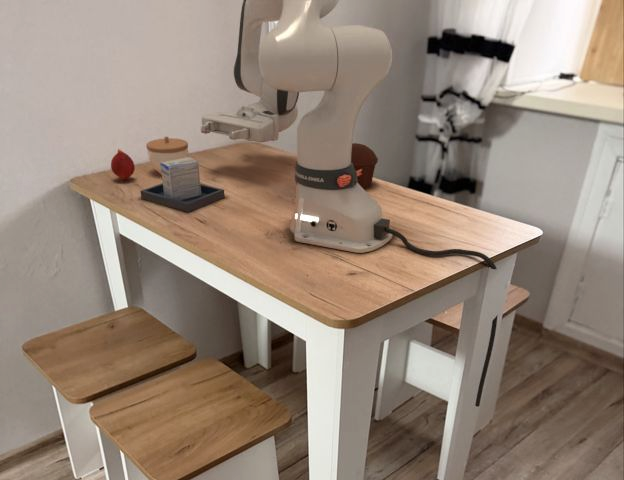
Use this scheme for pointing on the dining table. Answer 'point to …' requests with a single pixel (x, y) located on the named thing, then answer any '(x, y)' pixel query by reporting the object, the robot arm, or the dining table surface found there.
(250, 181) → the dining table surface
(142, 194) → the tray
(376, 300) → the dining table surface
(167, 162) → the medicine box
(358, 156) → the muffin
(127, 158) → the onion
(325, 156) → the robot arm
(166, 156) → the trinket box
